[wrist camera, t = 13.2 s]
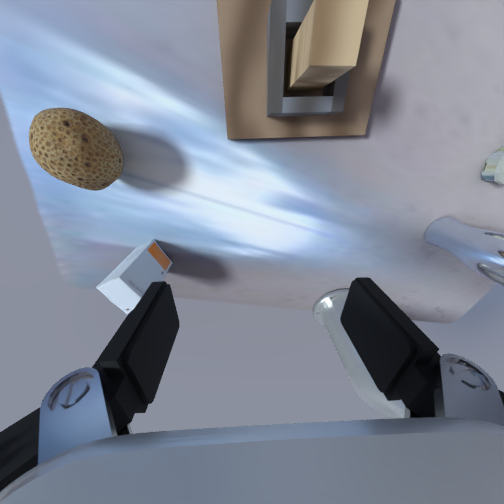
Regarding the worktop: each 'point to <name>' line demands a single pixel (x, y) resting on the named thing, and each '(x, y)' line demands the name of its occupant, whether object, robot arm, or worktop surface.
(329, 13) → the oak peg
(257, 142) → the worktop surface
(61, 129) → the natural sponge
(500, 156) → the white handle
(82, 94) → the worktop surface
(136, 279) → the skincare box
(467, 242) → the beer glass
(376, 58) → the peg caddy
